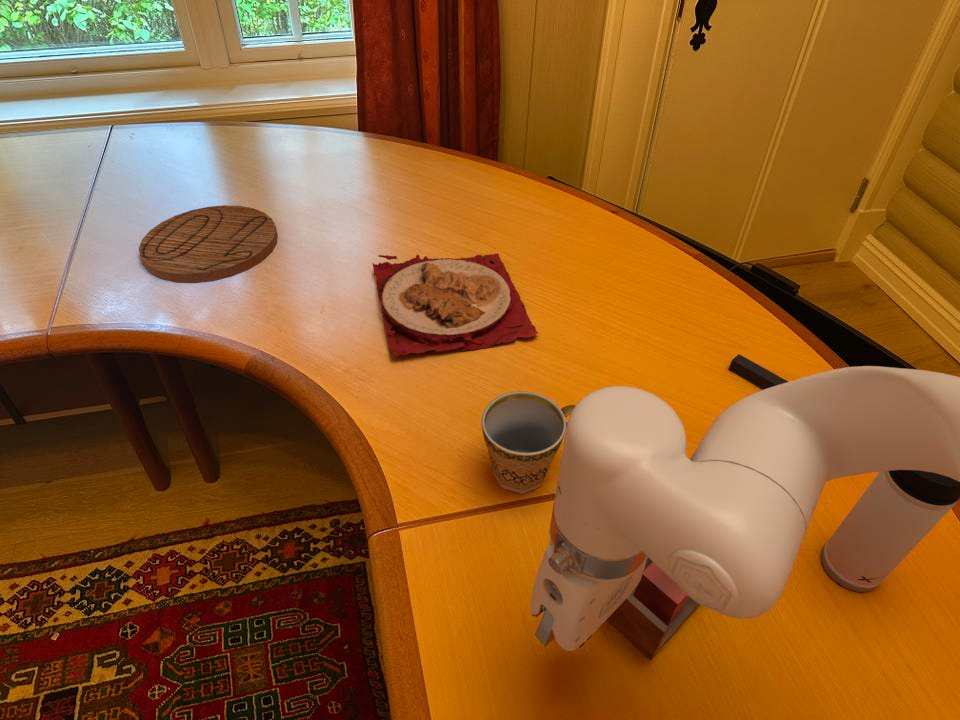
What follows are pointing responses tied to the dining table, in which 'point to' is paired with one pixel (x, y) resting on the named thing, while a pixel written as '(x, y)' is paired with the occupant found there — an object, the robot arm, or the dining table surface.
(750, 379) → the edge rail
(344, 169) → the dining table surface
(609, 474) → the robot arm
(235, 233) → the trivet
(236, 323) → the dining table surface
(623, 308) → the dining table surface
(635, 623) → the open wooden box
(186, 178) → the dining table surface
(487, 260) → the plate with food
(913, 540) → the travel mug
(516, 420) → the ceramic cup
